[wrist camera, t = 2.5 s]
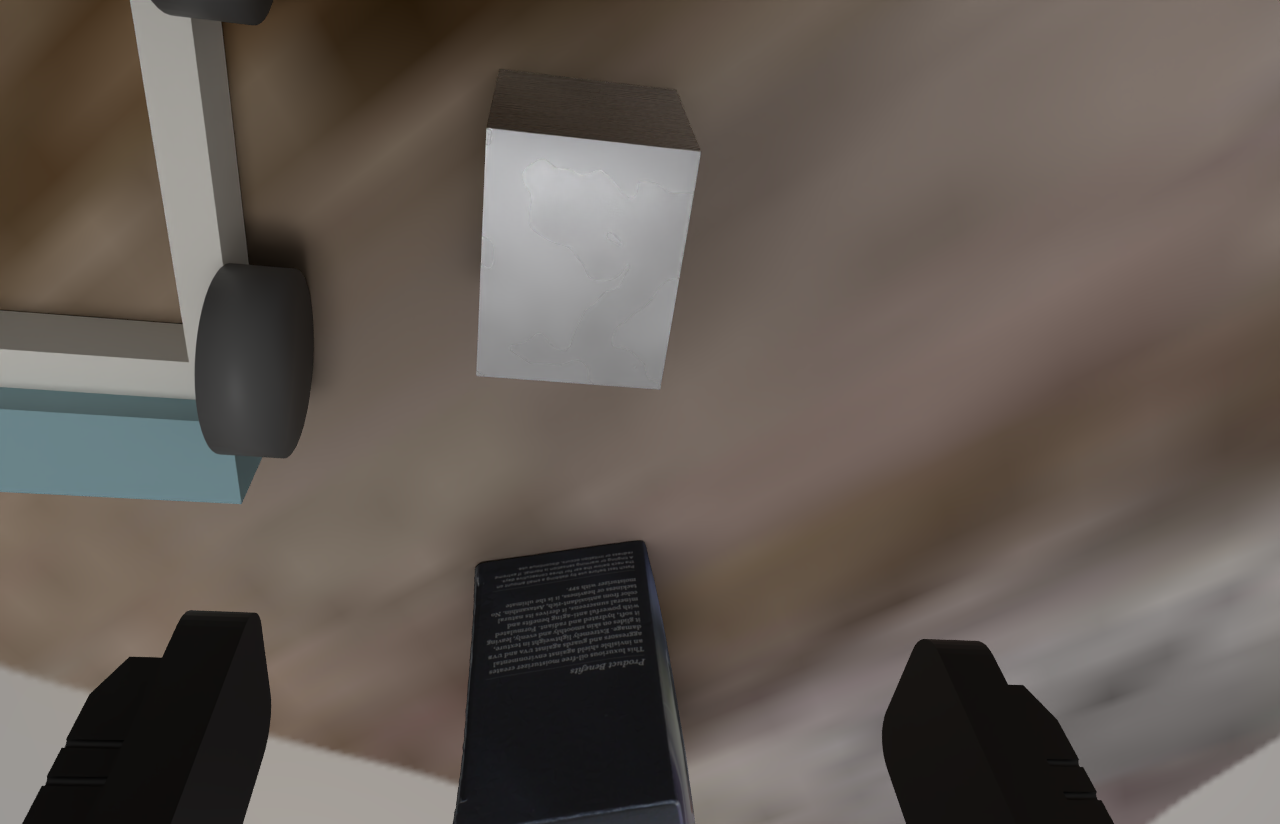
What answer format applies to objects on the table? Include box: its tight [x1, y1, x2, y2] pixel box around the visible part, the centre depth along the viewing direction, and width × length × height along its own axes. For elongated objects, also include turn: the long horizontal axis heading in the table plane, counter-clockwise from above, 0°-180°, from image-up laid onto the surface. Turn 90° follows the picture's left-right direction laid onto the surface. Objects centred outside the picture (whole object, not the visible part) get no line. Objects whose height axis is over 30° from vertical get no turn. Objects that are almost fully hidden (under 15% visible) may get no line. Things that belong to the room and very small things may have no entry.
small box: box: [453, 541, 695, 824], centre depth 31 cm, size 11×6×10 cm, turn 7°
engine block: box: [476, 69, 701, 389], centre depth 23 cm, size 6×4×5 cm
